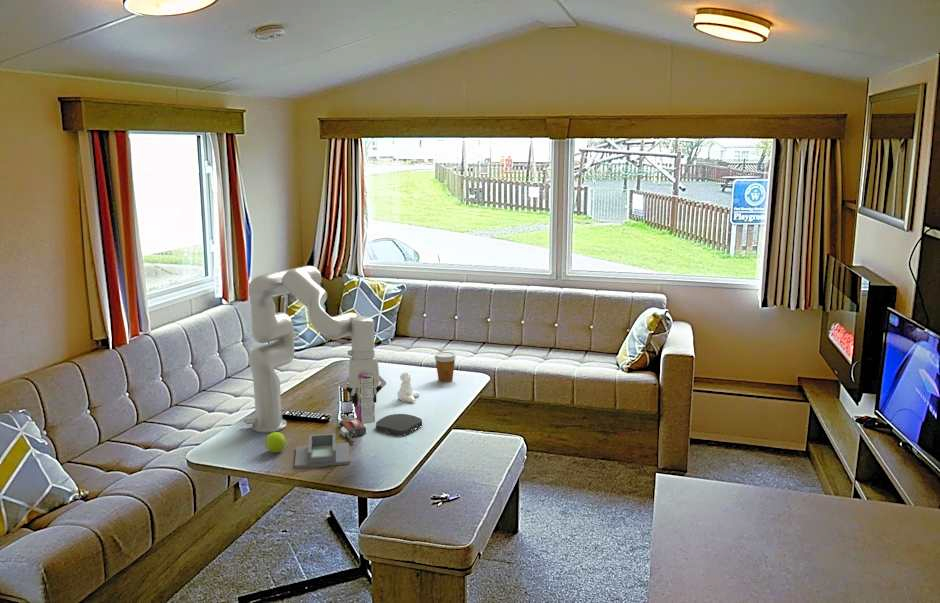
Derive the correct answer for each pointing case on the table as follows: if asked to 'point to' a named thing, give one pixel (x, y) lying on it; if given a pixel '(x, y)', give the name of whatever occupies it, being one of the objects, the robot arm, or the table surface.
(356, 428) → the walkie-talkie
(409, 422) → the media streaming box
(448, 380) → the disposable coffee cup
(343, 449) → the dock
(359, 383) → the candy bar box
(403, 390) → the sitting furry creature
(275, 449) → the tennis ball
